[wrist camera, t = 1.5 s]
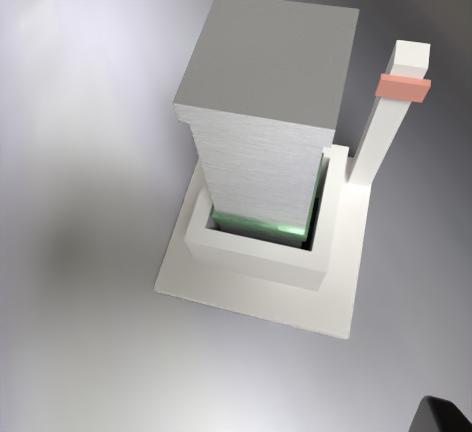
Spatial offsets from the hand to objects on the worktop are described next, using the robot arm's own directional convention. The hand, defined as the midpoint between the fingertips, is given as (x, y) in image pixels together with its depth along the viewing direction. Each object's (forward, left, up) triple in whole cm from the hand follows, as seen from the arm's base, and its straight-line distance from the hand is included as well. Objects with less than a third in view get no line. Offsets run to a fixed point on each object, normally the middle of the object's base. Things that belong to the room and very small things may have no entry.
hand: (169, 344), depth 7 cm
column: (+7, -5, -14) cm, 16 cm away
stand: (+7, -5, -14) cm, 16 cm away
